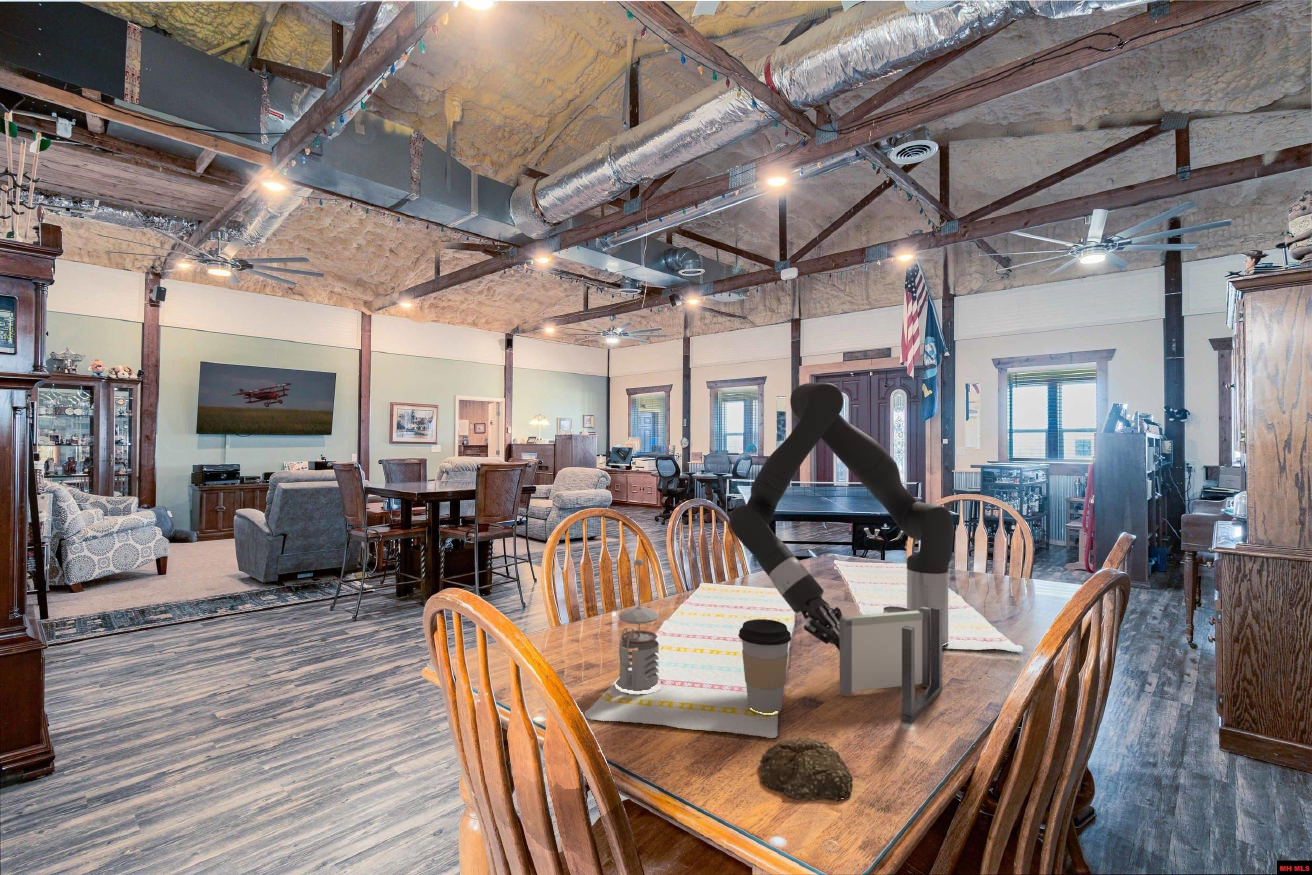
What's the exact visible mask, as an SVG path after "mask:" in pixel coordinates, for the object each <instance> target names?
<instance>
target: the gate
mask: <svg viewBox="0 0 1312 875" xmlns="http://www.w3.org/2000/svg"><path fill="white" fill-rule="evenodd" d="M904 626H910V627H915V685H919V686H922V687H929V686H930V685H931V646H930V608H928V607H919V611H918V610H917V611H905V612H892V613H883V612H881V613H880V612H879V613H870V614H857V615H855V614H854V615H844V616H843V615H842V617H841V619H840V651H839V693H840V694H841V695H842V696H850V695H851V696H852V695H853V692H858V691H859V692H860V691H868V690H877V689H885V688H895V687H896V688H897V687H902V627H904Z"/></svg>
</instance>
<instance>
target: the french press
mask: <svg viewBox="0 0 1312 875" xmlns="http://www.w3.org/2000/svg"><path fill="white" fill-rule="evenodd" d="M634 565H635V566H638V606H633V607H629V608H627V609H625V610H624V611H622V612H621V613H619V615H618V619H619V620H620V621H621V622H623V623H626V624H633V625H635V624H636V625H638V630H635V628H633V629H631V631H628V629H627V627H624V629H623V631H622V632H621V635H620V639H619V644H618V645H619V646H618V657H619V678H618V679H617V680H616V682H615V683H616V684H617V685H618V686H619V687H621V688H622V689H627V690H633V691H642V690H649V689H651V687H653V686H655V685H656V684H657V683H658V680H659V679H660V677H659V675H658V674H659V669H658V668H659V662H657V661H659V658H660V657H659V656H658V655H657V654H659V653H660V652H659V650H660V649H659V645H660V644H659V642H658V641H657V640H656V639H657V638H658V635H657V634H656V633H654V631H651V630H650V631H649V630H641V629H640V628H641V627H640V626H641V625H642V624H648V623H653V622H655V621H657V620H658V619H659V617H660V614H659V613H658V612H657V611H656V610H654V609H653V608H649V607H645V606H644V607H643V606H641V604H640V602H641V599H640V598H641V595H640V594H641V566H644V565H645V561H644V560H643V559H642V558H636V559H635V560H634ZM640 624H641V625H640ZM630 649H631V651H630ZM634 649H637V650H634ZM629 656H631V657H629ZM657 667H658V668H657ZM629 669H631V670H629Z"/></svg>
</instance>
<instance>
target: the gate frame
mask: <svg viewBox="0 0 1312 875" xmlns="http://www.w3.org/2000/svg"><path fill="white" fill-rule="evenodd" d="M943 685H944V684H943V646H942V607H936V606H933V607H931V646H930V686H927V688H926V689H925V690H924V691H923V692H922V693H921V694H920V695H919V696H918V697H917V698H915V697H916V693H915V690H916V688H915V686H916V684H915V627H910V626H904V627H902V686H901V715H900V721H901V722H903V723H907V724H912V723H913V722H914V721H915V720H916V718H917V717H919V716H920V714H921V713H922V712H923V711H924V710H925V709H926V708H927V707H928V706H929V704H930V703H932V701H933V700H934V699H935V698H936V697H937V696H938V695H939V693H941V692H942V690H943V689H944V688H943V687H944V686H943Z"/></svg>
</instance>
